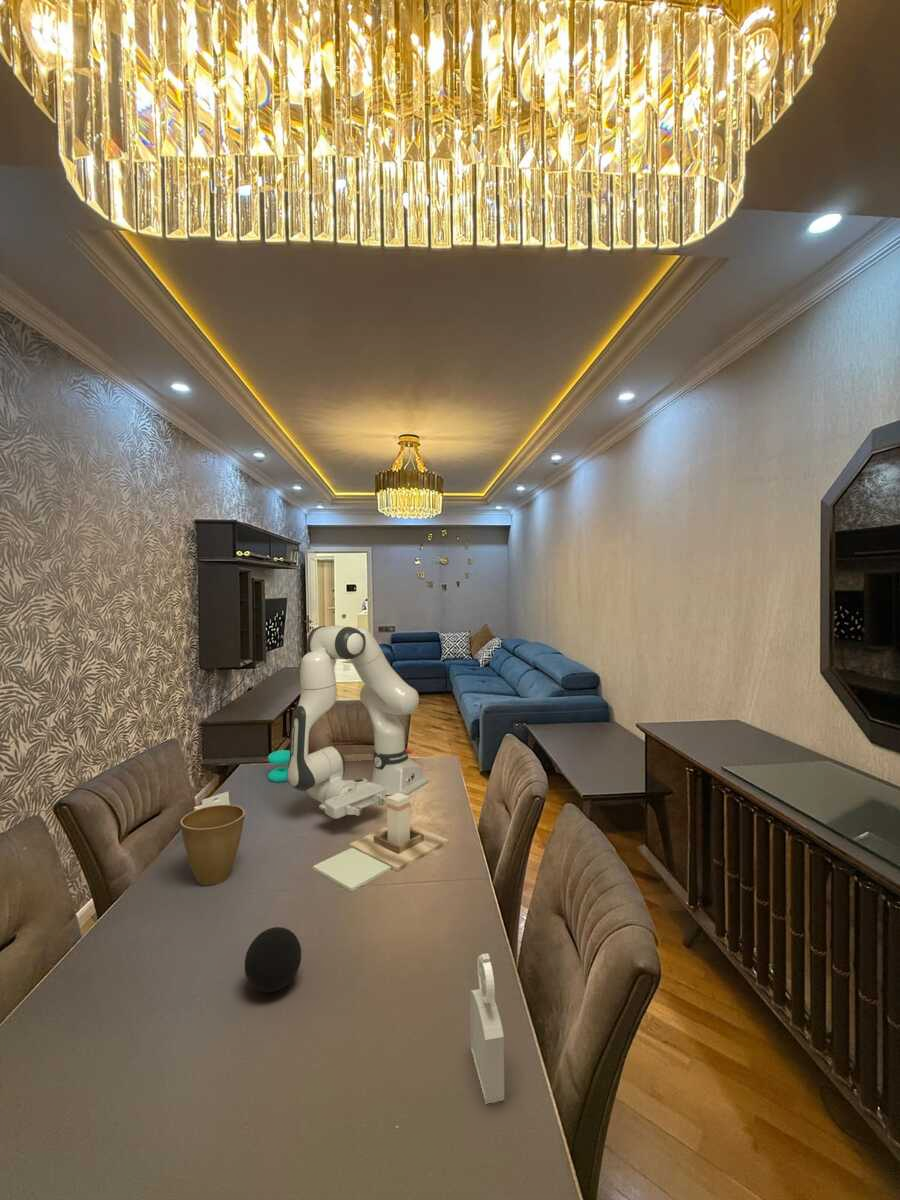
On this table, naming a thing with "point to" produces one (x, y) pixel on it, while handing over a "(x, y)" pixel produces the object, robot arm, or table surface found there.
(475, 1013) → the grey block with loop
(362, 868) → the pad
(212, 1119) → the table surface
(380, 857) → the wooden square socket board
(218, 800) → the ink cartridge box
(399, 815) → the banded cream pillar
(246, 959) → the decorative ball
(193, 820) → the plant pot
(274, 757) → the donuts
